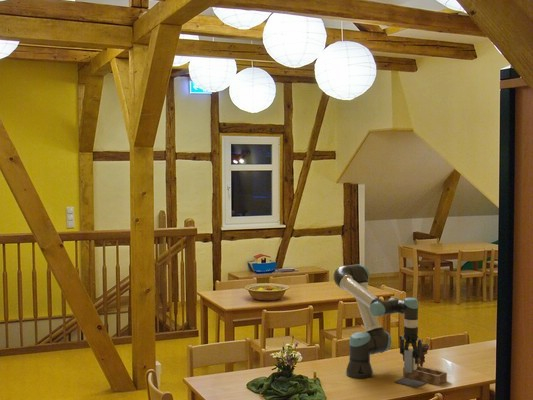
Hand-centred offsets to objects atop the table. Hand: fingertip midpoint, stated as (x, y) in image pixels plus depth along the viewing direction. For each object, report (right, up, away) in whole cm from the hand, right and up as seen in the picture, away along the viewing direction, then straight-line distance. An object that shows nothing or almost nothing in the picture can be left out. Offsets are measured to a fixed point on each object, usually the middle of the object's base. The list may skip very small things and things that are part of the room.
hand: (410, 368), depth 376 cm
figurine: (+8, -7, +24) cm, 27 cm away
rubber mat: (0, -8, +1) cm, 8 cm away
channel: (+10, -8, +8) cm, 15 cm away
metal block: (0, -2, 0) cm, 2 cm away
